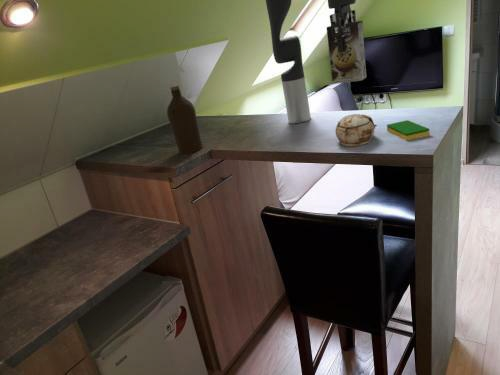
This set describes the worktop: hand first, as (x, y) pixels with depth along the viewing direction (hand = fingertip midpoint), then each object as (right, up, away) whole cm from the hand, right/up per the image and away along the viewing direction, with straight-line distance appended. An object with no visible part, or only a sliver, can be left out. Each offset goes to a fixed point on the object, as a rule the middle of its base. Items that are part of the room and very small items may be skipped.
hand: (346, 50), depth 114 cm
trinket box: (+5, -25, +11) cm, 28 cm away
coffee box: (+2, -8, +3) cm, 9 cm away
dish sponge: (+20, -24, +6) cm, 32 cm away
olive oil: (-51, -26, +40) cm, 70 cm away
